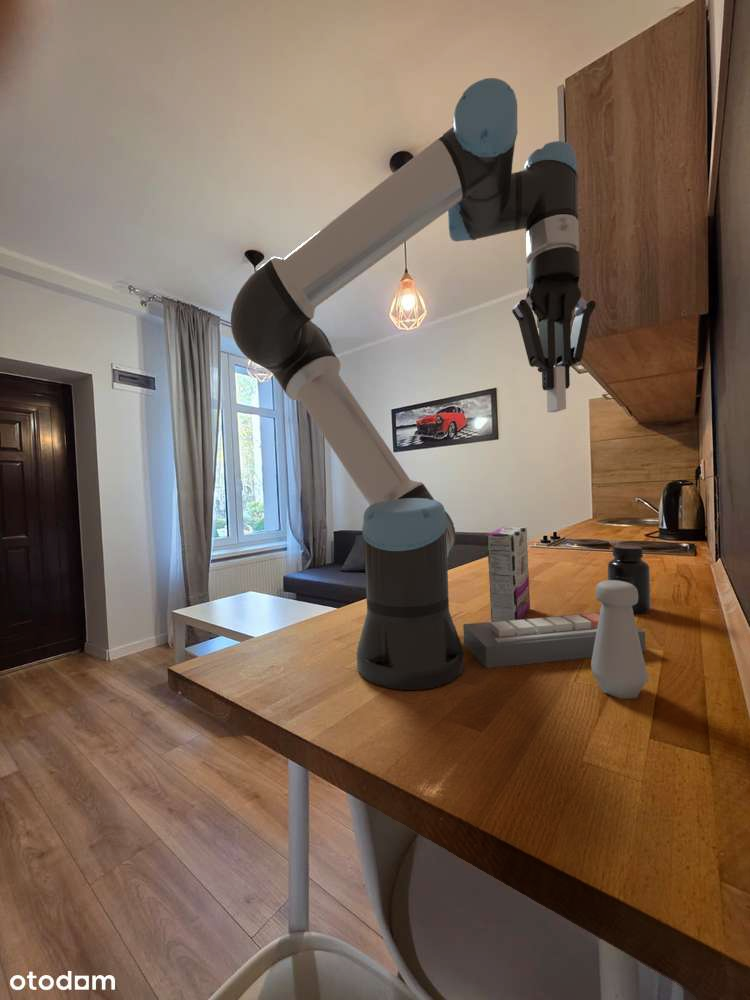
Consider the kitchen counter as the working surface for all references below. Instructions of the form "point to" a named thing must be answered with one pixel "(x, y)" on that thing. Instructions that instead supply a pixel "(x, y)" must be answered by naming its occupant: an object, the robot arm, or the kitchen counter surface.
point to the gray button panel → (534, 639)
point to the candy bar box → (508, 573)
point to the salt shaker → (618, 642)
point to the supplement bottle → (632, 573)
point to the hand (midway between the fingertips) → (556, 410)
